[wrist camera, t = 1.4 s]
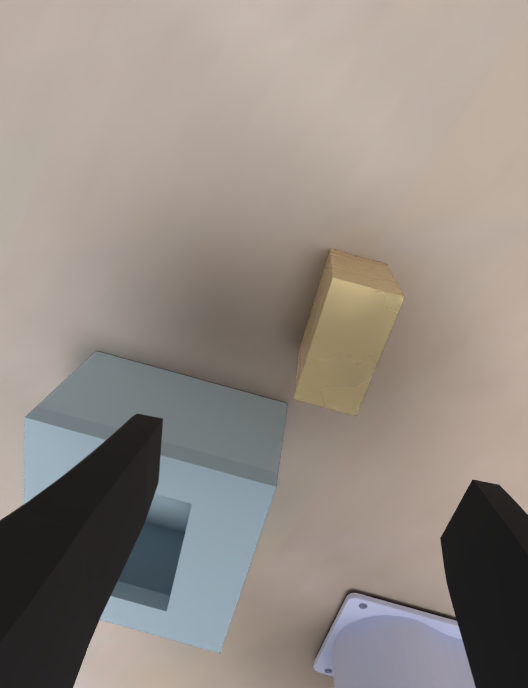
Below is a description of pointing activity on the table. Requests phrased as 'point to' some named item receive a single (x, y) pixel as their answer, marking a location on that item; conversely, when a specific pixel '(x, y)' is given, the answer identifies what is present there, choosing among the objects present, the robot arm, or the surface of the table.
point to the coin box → (171, 487)
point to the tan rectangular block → (346, 332)
